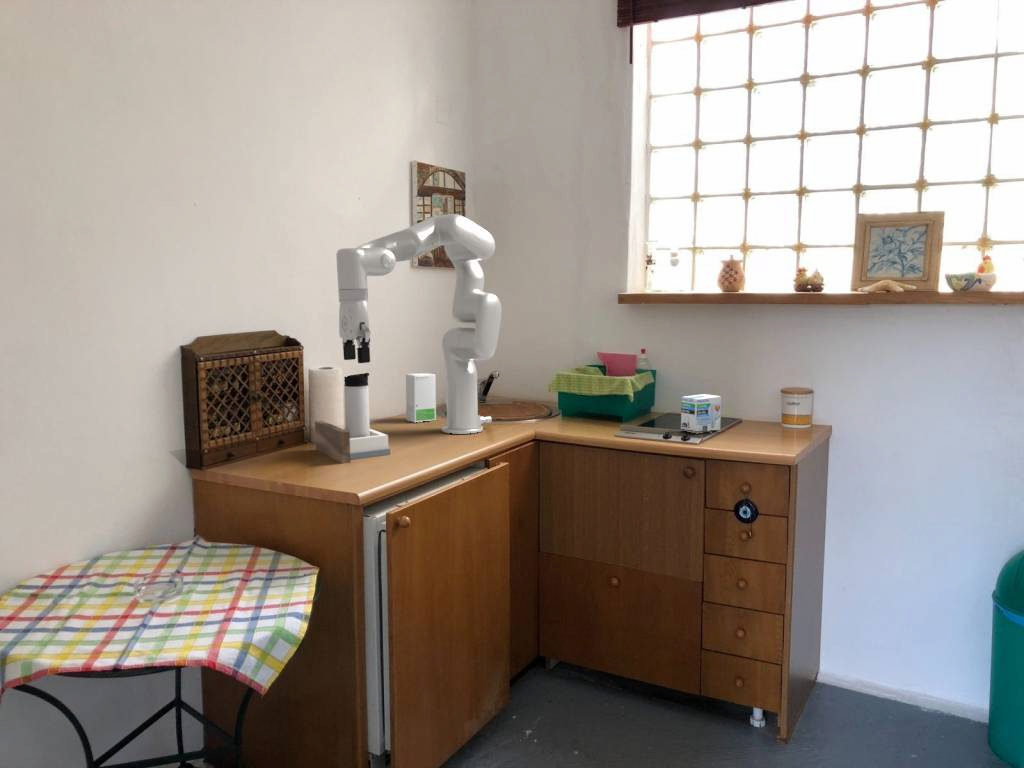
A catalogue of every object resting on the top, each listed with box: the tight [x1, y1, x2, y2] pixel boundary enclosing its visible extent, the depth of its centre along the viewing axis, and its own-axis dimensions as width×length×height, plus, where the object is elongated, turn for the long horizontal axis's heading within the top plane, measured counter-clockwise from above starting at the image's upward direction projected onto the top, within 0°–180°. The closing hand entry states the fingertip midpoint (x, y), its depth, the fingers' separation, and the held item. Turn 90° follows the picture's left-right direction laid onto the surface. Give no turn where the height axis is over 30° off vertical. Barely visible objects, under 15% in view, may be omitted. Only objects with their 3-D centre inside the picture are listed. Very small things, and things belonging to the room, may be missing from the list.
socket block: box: [350, 428, 391, 461], centre depth 213 cm, size 12×14×5 cm
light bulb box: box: [680, 393, 722, 431], centre depth 240 cm, size 11×7×11 cm, turn 123°
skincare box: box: [405, 373, 437, 424], centre depth 262 cm, size 8×7×16 cm
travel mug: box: [343, 372, 371, 439], centre depth 211 cm, size 6×7×20 cm
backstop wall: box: [314, 420, 351, 464], centre depth 209 cm, size 2×20×8 cm, turn 33°
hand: (356, 361), depth 210 cm, fingers open, 9 cm apart
